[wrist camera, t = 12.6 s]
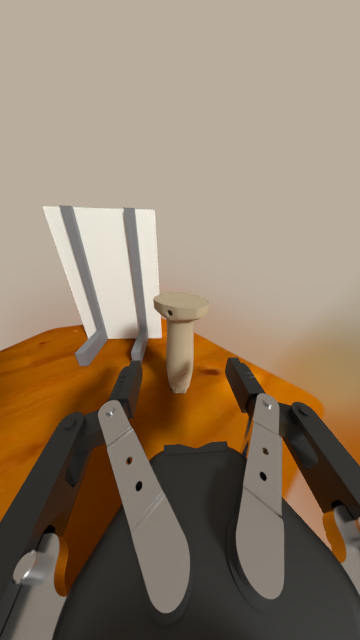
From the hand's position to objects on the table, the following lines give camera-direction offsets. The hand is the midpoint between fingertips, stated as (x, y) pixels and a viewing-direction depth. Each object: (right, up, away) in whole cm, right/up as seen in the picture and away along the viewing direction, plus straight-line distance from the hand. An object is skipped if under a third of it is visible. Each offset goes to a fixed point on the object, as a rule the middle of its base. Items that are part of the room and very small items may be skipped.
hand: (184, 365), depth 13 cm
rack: (-14, -2, +19) cm, 23 cm away
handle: (0, -7, +10) cm, 12 cm away
